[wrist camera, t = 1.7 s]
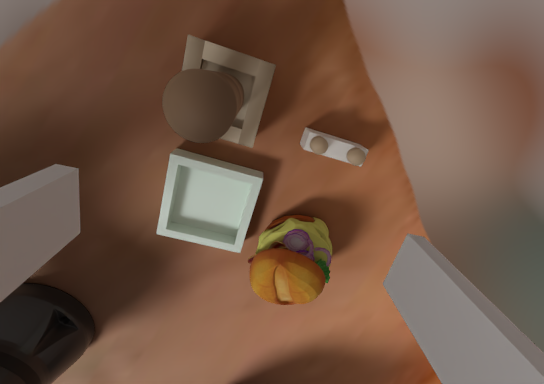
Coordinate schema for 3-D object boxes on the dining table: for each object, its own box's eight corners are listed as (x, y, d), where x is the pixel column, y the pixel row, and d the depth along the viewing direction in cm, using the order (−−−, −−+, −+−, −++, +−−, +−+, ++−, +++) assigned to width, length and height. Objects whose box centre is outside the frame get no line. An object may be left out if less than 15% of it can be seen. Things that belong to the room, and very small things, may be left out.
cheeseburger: (347, 241, 38) (356, 304, 30) (288, 270, 43) (282, 331, 35) (302, 193, 35) (299, 248, 26) (244, 230, 39) (225, 287, 31)
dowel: (198, 109, 27) (157, 131, 16) (207, 66, 25) (168, 57, 14) (238, 121, 27) (225, 151, 16) (249, 80, 26) (242, 82, 15)
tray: (162, 224, 36) (156, 234, 34) (176, 148, 32) (170, 153, 30) (241, 242, 37) (239, 252, 35) (262, 172, 34) (263, 179, 31)
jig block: (184, 117, 31) (172, 124, 26) (199, 41, 28) (188, 34, 24) (253, 138, 32) (252, 147, 28) (273, 66, 29) (276, 64, 25)
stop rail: (299, 143, 33) (305, 151, 29) (305, 127, 32) (311, 133, 28) (352, 159, 34) (364, 169, 30) (359, 144, 33) (372, 152, 29)
